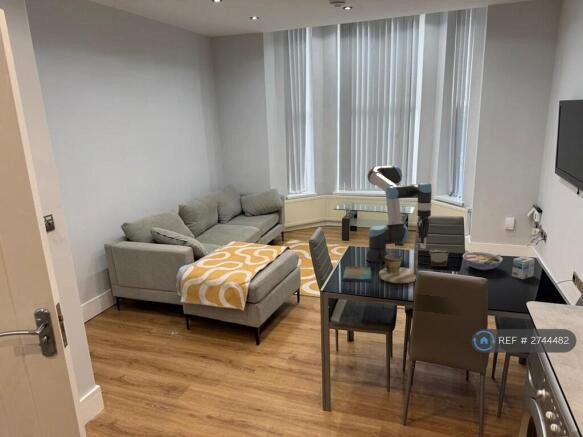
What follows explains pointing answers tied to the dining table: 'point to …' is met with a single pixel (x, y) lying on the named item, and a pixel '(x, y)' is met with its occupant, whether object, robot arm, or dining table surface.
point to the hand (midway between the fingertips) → (423, 248)
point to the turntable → (402, 272)
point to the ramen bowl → (482, 260)
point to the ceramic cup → (393, 264)
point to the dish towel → (357, 274)
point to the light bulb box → (523, 267)
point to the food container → (439, 257)
